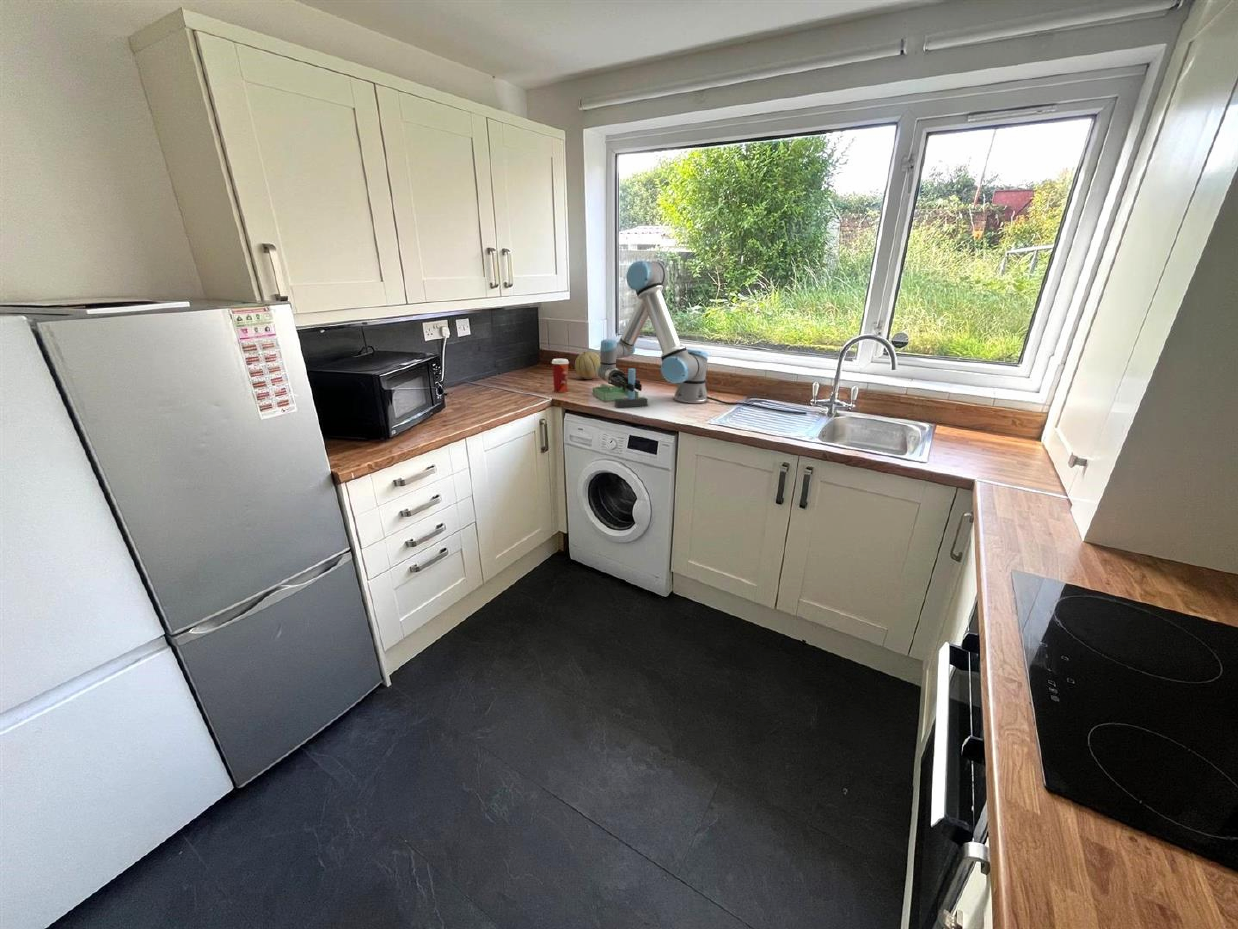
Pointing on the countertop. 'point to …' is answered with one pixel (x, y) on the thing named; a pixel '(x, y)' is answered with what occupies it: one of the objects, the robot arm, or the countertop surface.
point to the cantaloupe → (587, 365)
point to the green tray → (606, 394)
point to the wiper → (631, 395)
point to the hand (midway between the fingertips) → (636, 388)
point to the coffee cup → (560, 374)
